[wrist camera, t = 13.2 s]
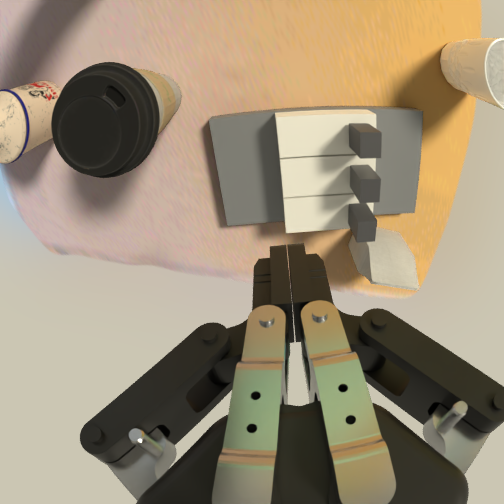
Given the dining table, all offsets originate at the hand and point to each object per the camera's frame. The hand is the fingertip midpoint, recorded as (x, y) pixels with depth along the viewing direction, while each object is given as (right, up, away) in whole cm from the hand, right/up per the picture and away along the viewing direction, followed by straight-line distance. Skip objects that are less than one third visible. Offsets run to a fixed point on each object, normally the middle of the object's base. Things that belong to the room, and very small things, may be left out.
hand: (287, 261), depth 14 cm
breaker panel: (+7, +11, +21) cm, 24 cm away
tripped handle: (+10, +8, +16) cm, 20 cm away
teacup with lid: (-31, +20, +17) cm, 40 cm away
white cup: (+24, +23, +12) cm, 35 cm away
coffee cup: (-12, +18, +17) cm, 28 cm away
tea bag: (+15, +2, +27) cm, 31 cm away
